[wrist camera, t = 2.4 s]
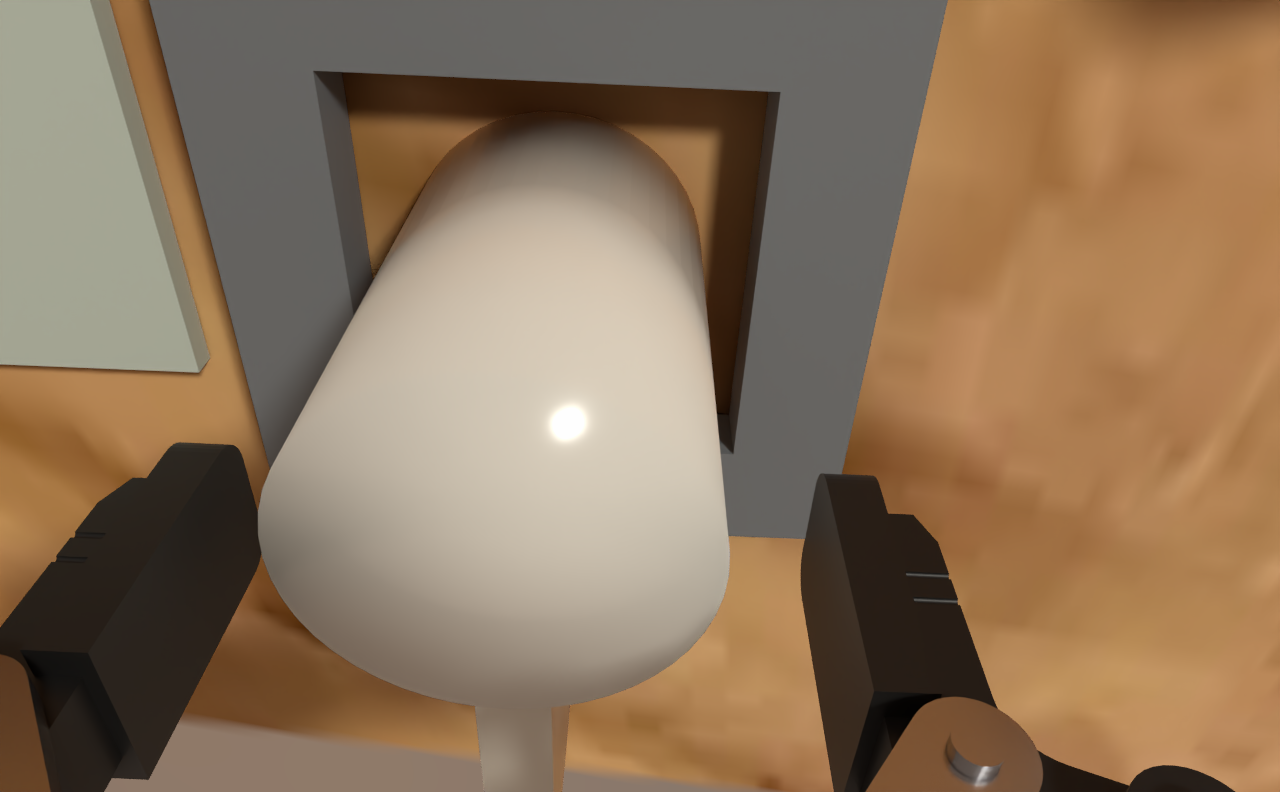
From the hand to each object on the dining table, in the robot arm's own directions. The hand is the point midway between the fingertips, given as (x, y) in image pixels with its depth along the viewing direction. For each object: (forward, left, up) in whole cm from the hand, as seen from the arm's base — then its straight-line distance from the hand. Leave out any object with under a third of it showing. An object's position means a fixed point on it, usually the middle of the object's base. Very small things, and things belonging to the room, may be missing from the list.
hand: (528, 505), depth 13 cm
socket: (0, 0, -8) cm, 8 cm away
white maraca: (0, -3, -8) cm, 8 cm away
